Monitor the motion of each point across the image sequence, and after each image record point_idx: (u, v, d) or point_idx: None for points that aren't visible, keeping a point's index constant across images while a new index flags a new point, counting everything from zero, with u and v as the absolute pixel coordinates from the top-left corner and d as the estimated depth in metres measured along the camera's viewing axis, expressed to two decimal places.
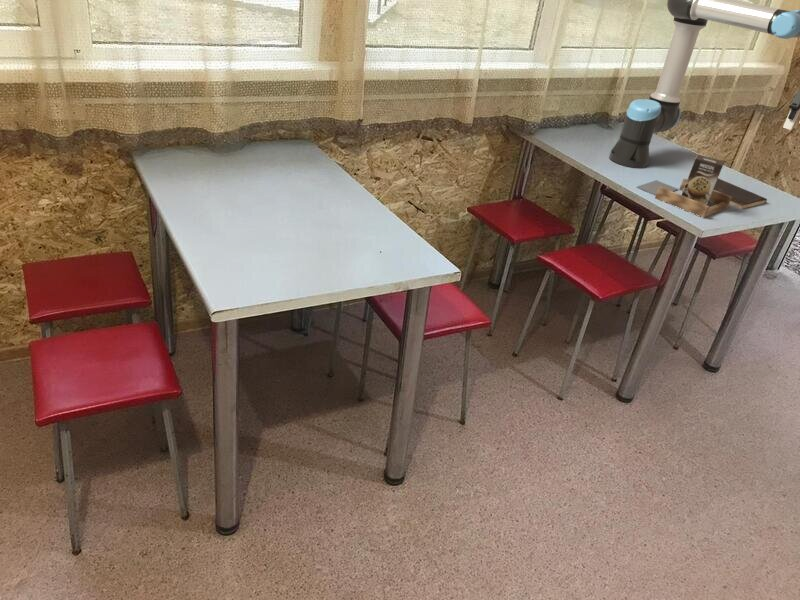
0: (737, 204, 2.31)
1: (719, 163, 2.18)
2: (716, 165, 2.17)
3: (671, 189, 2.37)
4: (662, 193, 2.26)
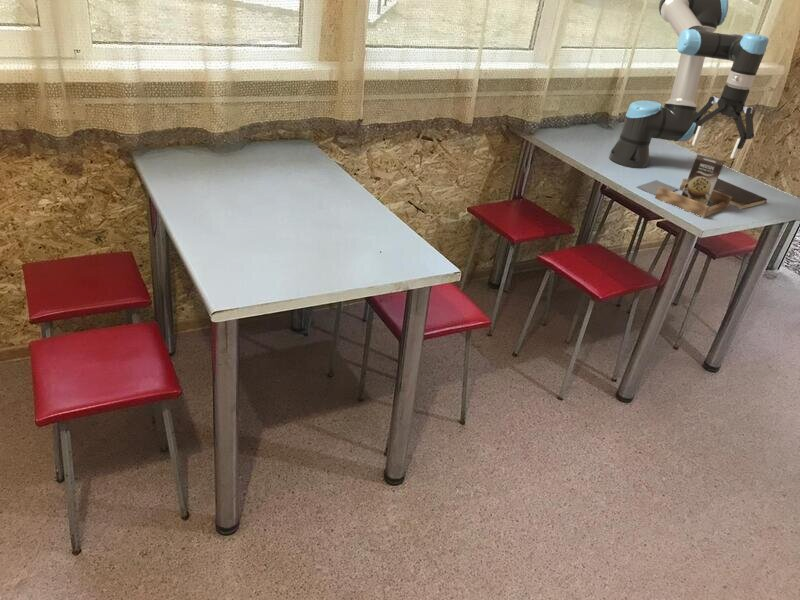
0: (737, 204, 2.31)
1: (719, 163, 2.18)
2: (716, 165, 2.17)
3: (671, 189, 2.37)
4: (662, 193, 2.26)
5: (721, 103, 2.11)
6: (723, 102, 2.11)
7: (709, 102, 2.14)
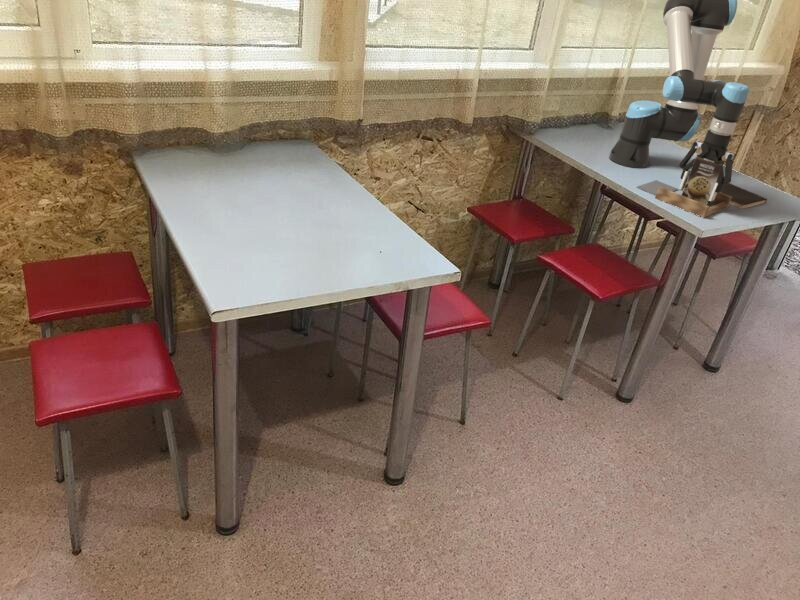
0: (737, 204, 2.31)
1: None
2: (716, 165, 2.17)
3: (671, 189, 2.37)
4: (662, 193, 2.26)
5: (704, 147, 2.19)
6: (706, 146, 2.19)
7: (693, 147, 2.22)
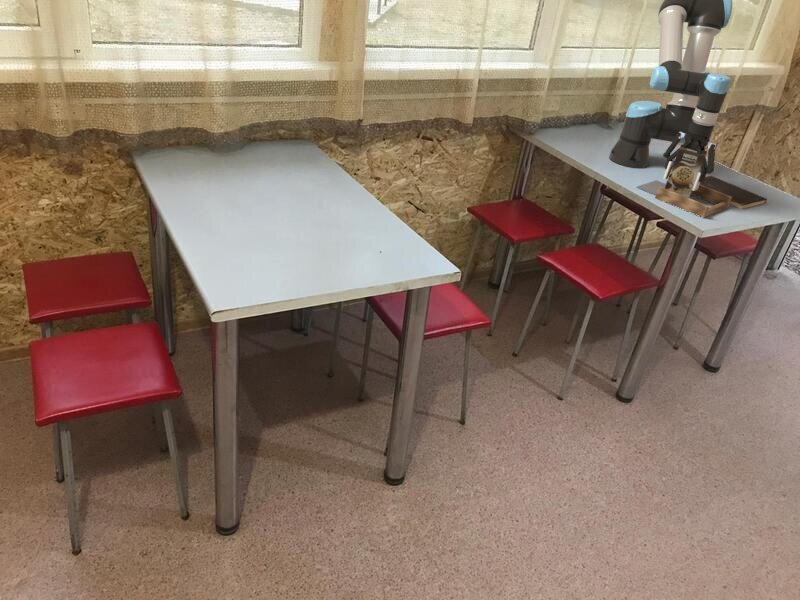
0: (737, 204, 2.31)
1: None
2: (699, 155, 2.21)
3: None
4: (662, 193, 2.26)
5: (688, 137, 2.23)
6: (689, 136, 2.22)
7: (676, 137, 2.26)
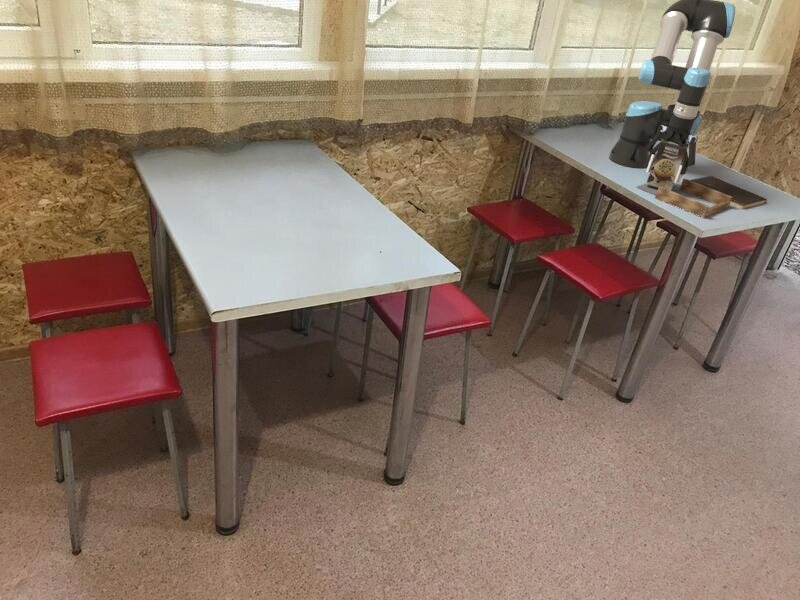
0: (737, 204, 2.31)
1: None
2: (681, 148, 2.25)
3: None
4: (662, 193, 2.26)
5: (669, 130, 2.27)
6: (671, 129, 2.26)
7: (658, 131, 2.30)
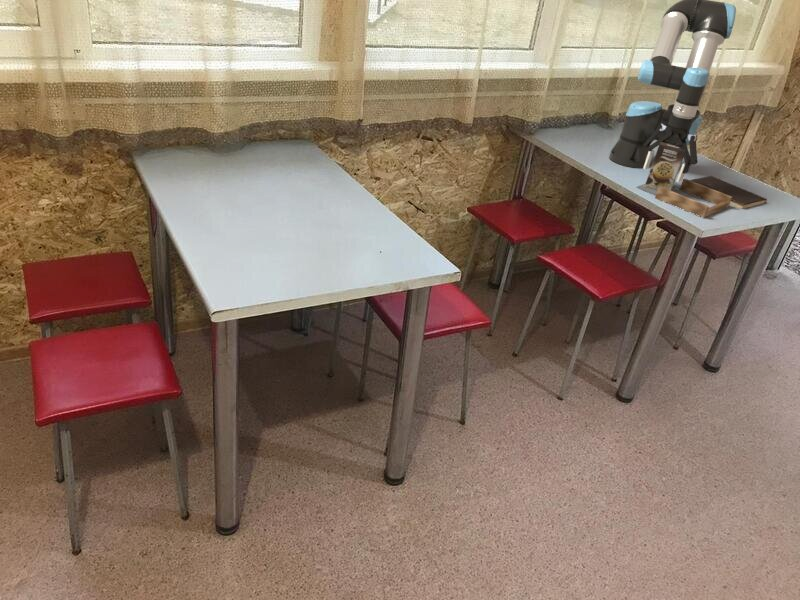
0: (737, 204, 2.31)
1: None
2: (679, 150, 2.25)
3: None
4: (662, 193, 2.26)
5: (668, 130, 2.27)
6: (670, 130, 2.26)
7: (657, 129, 2.30)
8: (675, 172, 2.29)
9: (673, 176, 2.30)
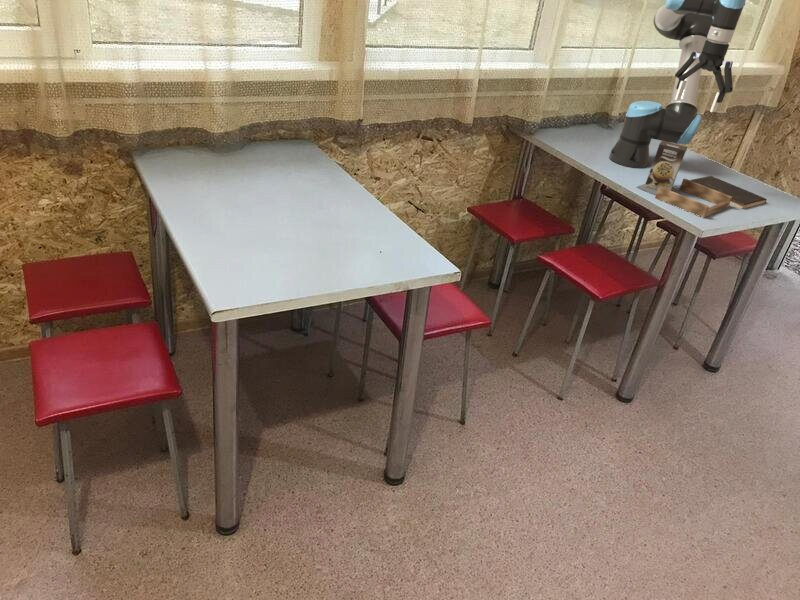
0: (737, 204, 2.31)
1: (682, 148, 2.26)
2: (679, 150, 2.25)
3: None
4: (662, 193, 2.26)
5: (702, 58, 2.19)
6: (704, 57, 2.19)
7: (691, 57, 2.22)
8: (675, 172, 2.29)
9: (673, 176, 2.30)
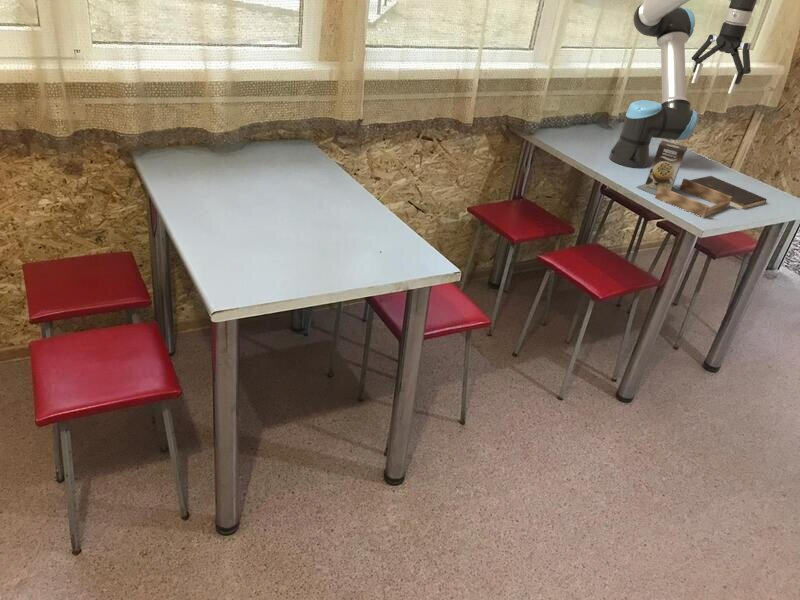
0: (737, 204, 2.31)
1: (682, 148, 2.26)
2: (679, 150, 2.25)
3: None
4: (662, 193, 2.26)
5: (719, 40, 2.22)
6: (721, 39, 2.21)
7: (708, 40, 2.25)
8: (675, 172, 2.29)
9: (673, 176, 2.30)
